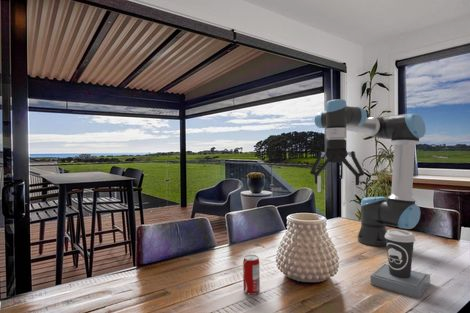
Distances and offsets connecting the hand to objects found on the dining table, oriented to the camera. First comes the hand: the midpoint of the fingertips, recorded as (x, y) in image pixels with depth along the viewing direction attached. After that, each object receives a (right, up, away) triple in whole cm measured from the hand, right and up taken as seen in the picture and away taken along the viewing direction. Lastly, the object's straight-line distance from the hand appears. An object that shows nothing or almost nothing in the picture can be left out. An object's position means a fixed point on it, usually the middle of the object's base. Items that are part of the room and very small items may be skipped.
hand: (336, 192), depth 117 cm
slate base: (+18, -31, -13) cm, 38 cm away
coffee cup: (+18, -28, -13) cm, 35 cm away
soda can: (-35, -32, -17) cm, 50 cm away
